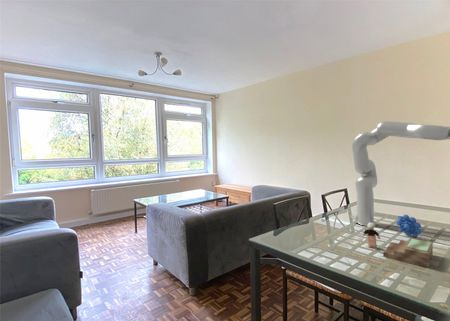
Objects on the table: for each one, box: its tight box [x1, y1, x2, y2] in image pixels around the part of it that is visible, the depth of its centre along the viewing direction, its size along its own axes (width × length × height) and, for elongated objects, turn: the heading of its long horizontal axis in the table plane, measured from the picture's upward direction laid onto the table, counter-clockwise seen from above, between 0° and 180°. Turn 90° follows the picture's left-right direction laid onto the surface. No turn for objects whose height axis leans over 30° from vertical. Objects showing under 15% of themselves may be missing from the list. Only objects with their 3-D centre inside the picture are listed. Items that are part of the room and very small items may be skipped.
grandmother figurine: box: [362, 223, 381, 250], centre depth 121 cm, size 8×4×13 cm, turn 65°
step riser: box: [383, 237, 434, 269], centre depth 110 cm, size 16×16×6 cm
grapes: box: [395, 214, 423, 238], centre depth 132 cm, size 12×7×12 cm, turn 37°
